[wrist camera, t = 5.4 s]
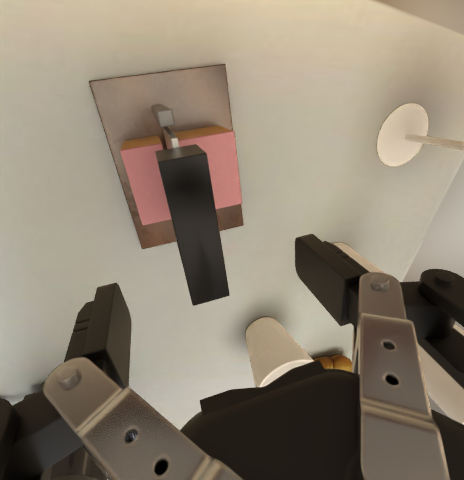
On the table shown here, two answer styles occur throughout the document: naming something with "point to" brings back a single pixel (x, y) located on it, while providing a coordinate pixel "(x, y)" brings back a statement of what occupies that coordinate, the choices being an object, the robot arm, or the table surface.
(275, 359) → the cup
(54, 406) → the robot arm
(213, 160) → the cake
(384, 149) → the wineglass
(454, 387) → the cylindrical container
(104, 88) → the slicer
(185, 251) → the black handled scraper
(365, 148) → the table surface
